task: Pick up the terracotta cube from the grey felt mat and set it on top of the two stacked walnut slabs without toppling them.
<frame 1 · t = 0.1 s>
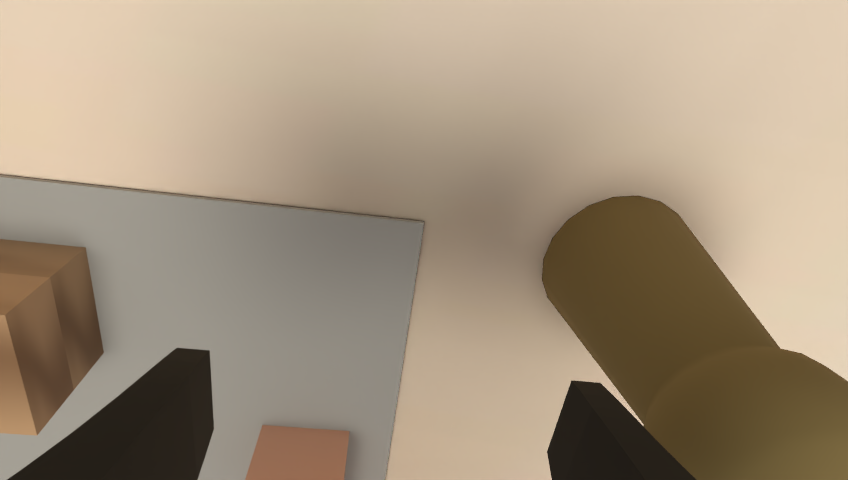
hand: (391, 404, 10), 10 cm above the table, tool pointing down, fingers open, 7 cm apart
tower bottom: (28, 296, 20), resting on mat, touching tower top
olive pawn: (614, 262, 21), on the table
mat: (172, 398, 23), on the table
cube: (304, 458, 25), resting on mat
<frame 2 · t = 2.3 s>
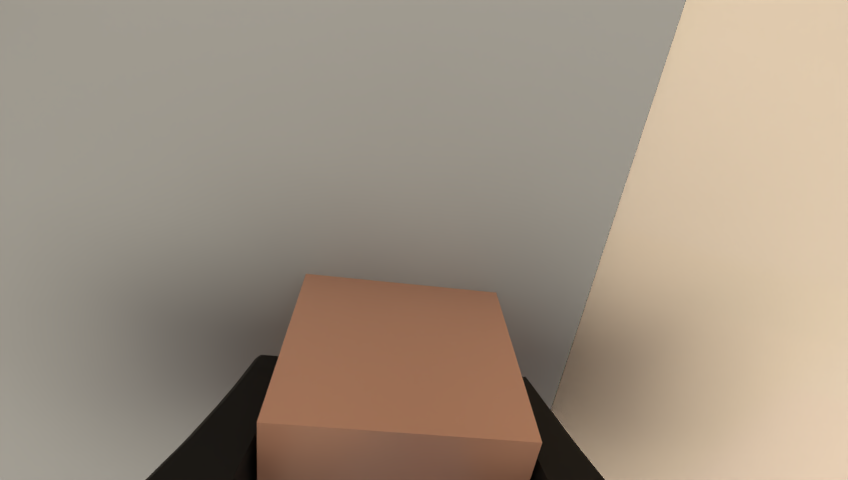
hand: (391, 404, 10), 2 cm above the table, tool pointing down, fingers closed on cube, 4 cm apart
mat: (99, 202, 10), on the table
cube: (392, 358, 12), resting on mat, touching gripper
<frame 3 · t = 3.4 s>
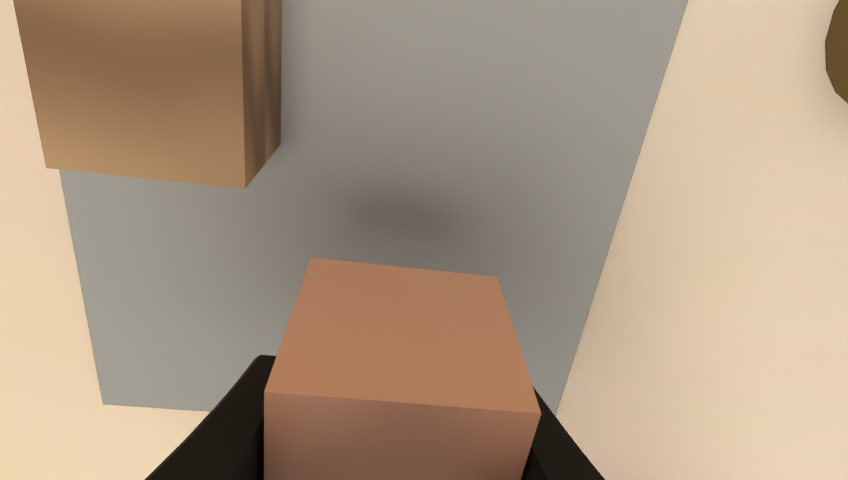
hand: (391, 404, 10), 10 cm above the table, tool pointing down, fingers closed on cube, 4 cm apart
tower bottom: (201, 58, 16), resting on mat, touching tower top
mat: (349, 216, 19), on the table
tower top: (173, 67, 14), point 2 cm above the table, touching tower bottom
cube: (395, 342, 12), point 8 cm above the table, touching gripper
when the fingers open (7 cm above the table, at t = 4.7 s): cube drops 1 cm, resting on tower top.
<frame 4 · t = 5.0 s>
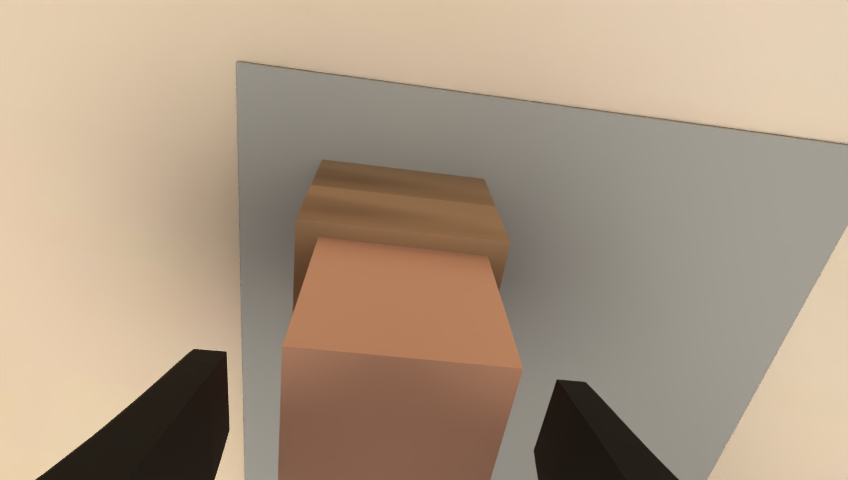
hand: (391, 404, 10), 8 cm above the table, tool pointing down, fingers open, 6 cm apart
tower bottom: (395, 241, 17), resting on mat, touching tower top
mat: (510, 368, 20), on the table
tower top: (394, 275, 15), point 2 cm above the table, touching cube, tower bottom
cube: (394, 316, 13), point 5 cm above the table, touching tower top
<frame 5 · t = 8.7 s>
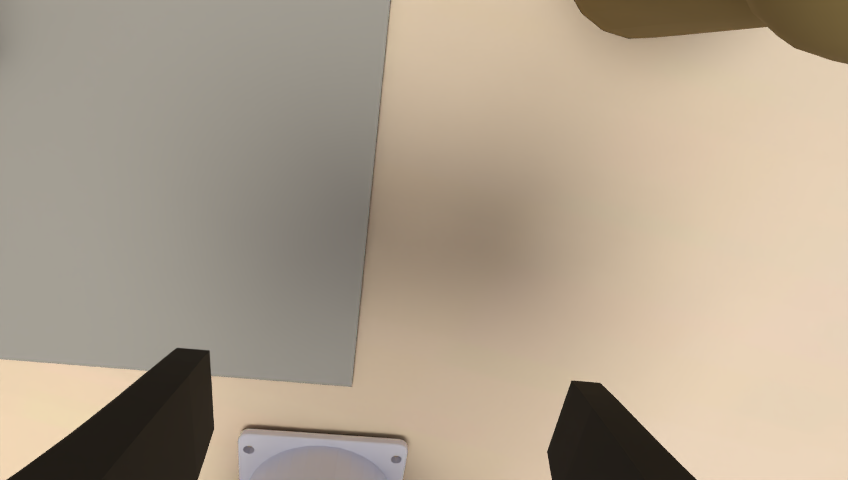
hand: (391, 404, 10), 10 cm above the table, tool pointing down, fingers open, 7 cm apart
mat: (89, 144, 18), on the table
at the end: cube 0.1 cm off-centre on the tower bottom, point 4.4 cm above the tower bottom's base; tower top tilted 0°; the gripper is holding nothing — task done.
